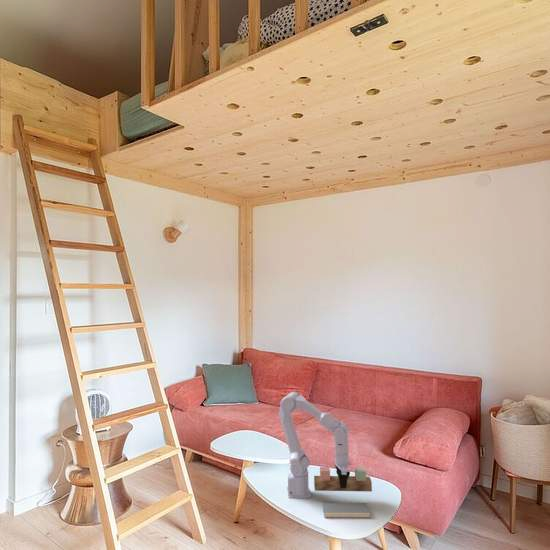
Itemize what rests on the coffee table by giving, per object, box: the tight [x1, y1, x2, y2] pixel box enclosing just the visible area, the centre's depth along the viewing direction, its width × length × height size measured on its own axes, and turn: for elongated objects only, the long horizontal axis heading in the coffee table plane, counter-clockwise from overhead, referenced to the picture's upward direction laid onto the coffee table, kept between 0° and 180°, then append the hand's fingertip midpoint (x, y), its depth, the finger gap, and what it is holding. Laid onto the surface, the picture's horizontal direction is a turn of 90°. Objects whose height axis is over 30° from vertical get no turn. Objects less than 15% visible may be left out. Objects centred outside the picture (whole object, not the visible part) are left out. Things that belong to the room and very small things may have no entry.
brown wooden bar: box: [313, 475, 373, 492], centre depth 172 cm, size 24×5×4 cm, turn 86°
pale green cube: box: [354, 466, 367, 481], centre depth 172 cm, size 4×4×4 cm
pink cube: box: [319, 466, 331, 481], centre depth 173 cm, size 4×4×4 cm
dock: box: [322, 502, 371, 518], centre depth 163 cm, size 18×7×2 cm, turn 88°
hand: (342, 484), depth 172 cm, fingers closed on brown wooden bar, 5 cm apart
